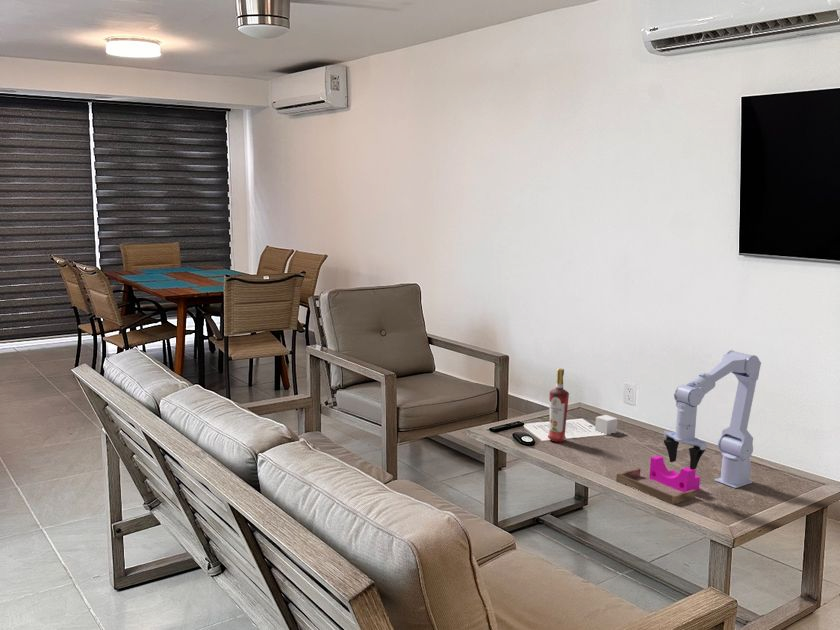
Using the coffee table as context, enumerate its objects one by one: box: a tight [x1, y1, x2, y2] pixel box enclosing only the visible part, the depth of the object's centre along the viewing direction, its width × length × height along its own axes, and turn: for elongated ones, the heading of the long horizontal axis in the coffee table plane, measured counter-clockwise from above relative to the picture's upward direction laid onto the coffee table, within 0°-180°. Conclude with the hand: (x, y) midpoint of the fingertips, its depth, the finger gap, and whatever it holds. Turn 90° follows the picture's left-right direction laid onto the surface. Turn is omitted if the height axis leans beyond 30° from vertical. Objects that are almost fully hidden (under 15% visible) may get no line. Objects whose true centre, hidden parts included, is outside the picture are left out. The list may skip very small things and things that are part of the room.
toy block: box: [649, 455, 701, 493], centre depth 251 cm, size 15×6×8 cm, turn 33°
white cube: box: [594, 414, 618, 436], centre depth 306 cm, size 6×6×6 cm
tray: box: [615, 467, 697, 505], centre depth 247 cm, size 11×23×2 cm, turn 34°
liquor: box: [547, 368, 570, 443], centre depth 292 cm, size 7×7×28 cm
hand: (682, 465), depth 241 cm, fingers open, 7 cm apart
